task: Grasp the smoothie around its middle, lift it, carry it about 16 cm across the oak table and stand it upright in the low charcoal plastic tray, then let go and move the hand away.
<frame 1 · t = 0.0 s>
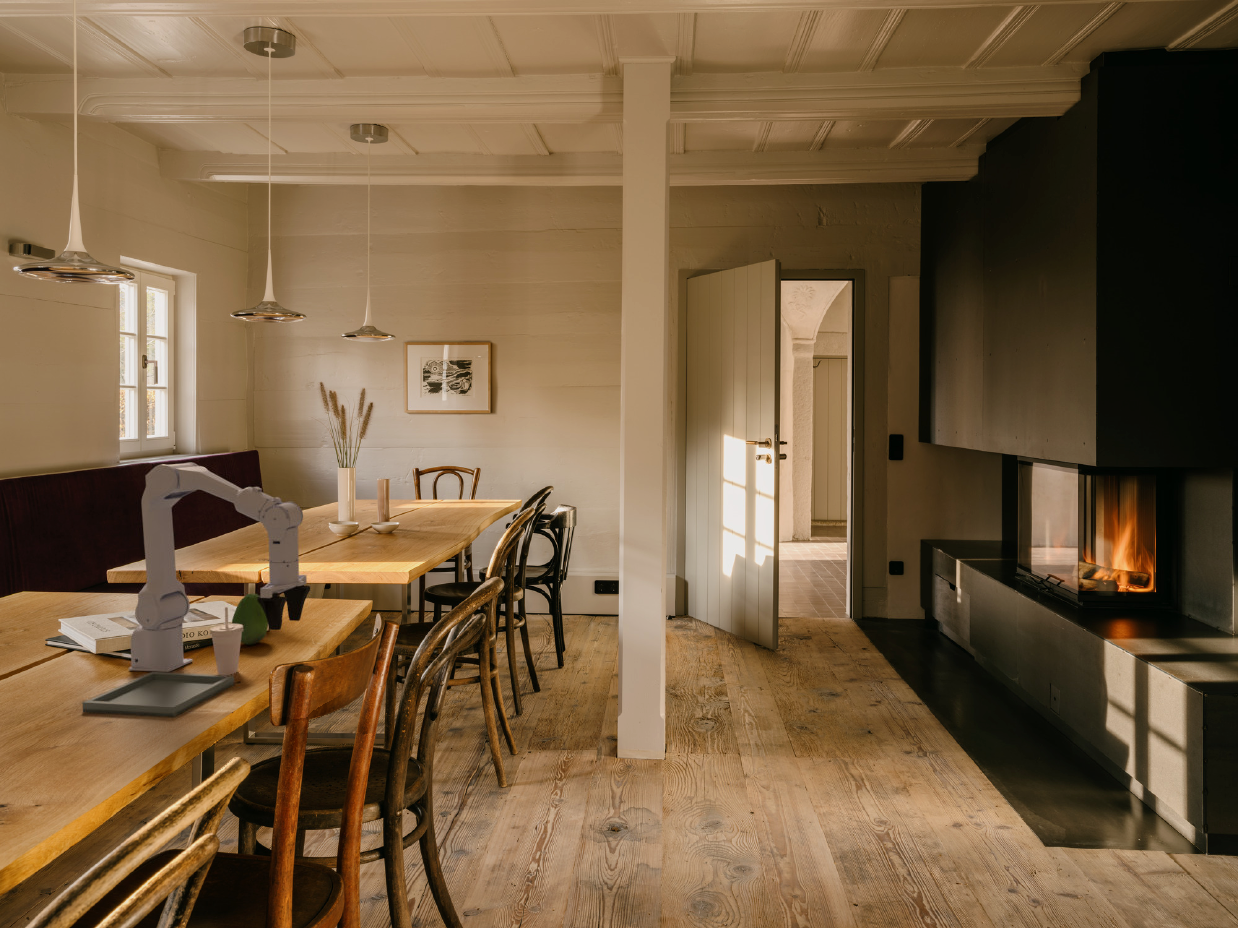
hand: (285, 624, 170), 10 cm above the table, tool pointing down, fingers open, 7 cm apart
smoothie: (227, 673, 170), on the table
tray: (162, 697, 155), on the table
avocado: (250, 644, 192), on the table
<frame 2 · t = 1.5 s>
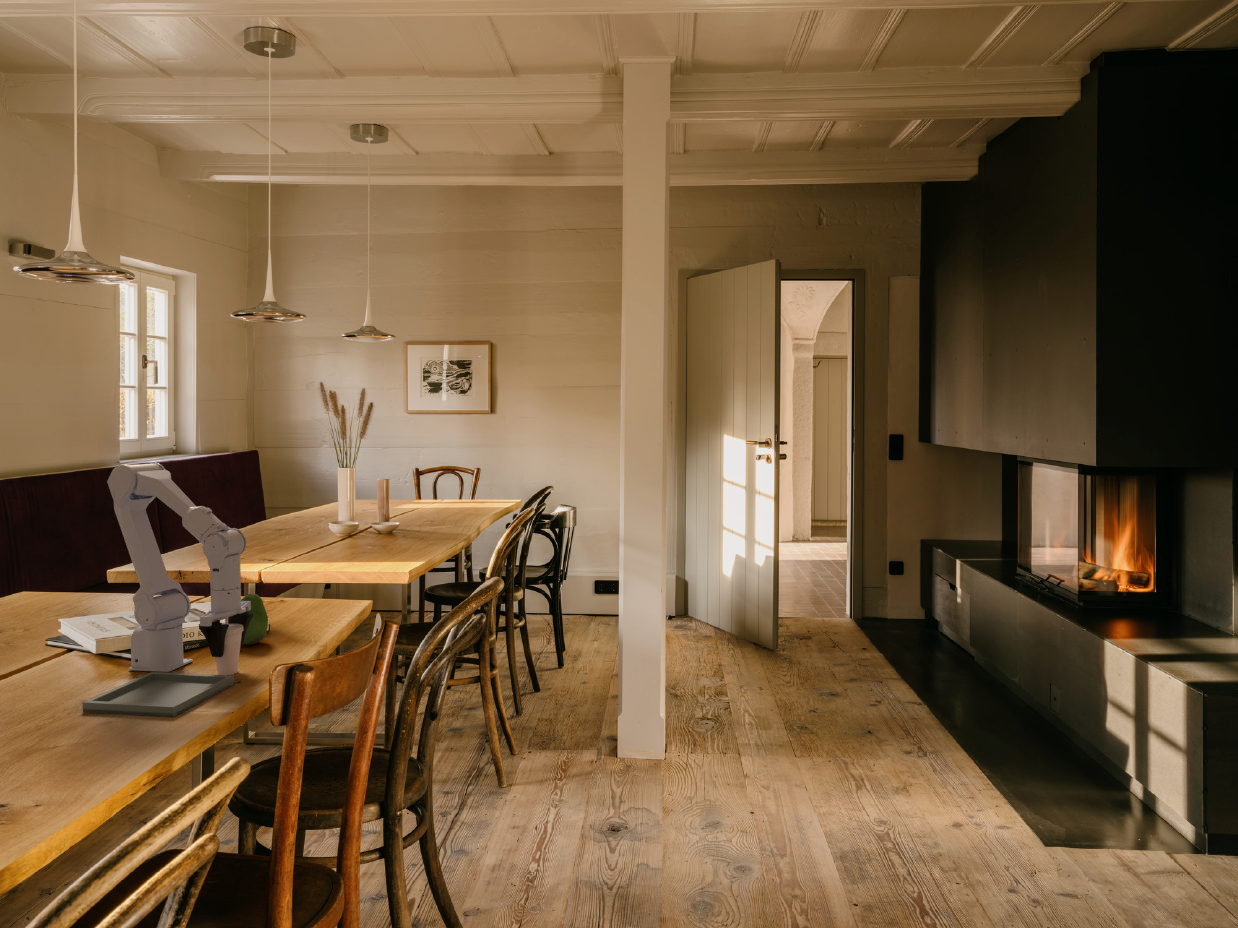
hand: (227, 651, 170), 4 cm above the table, tool pointing down, fingers closed on smoothie, 6 cm apart
smoothie: (227, 673, 170), on the table, touching gripper
everything else where it was.
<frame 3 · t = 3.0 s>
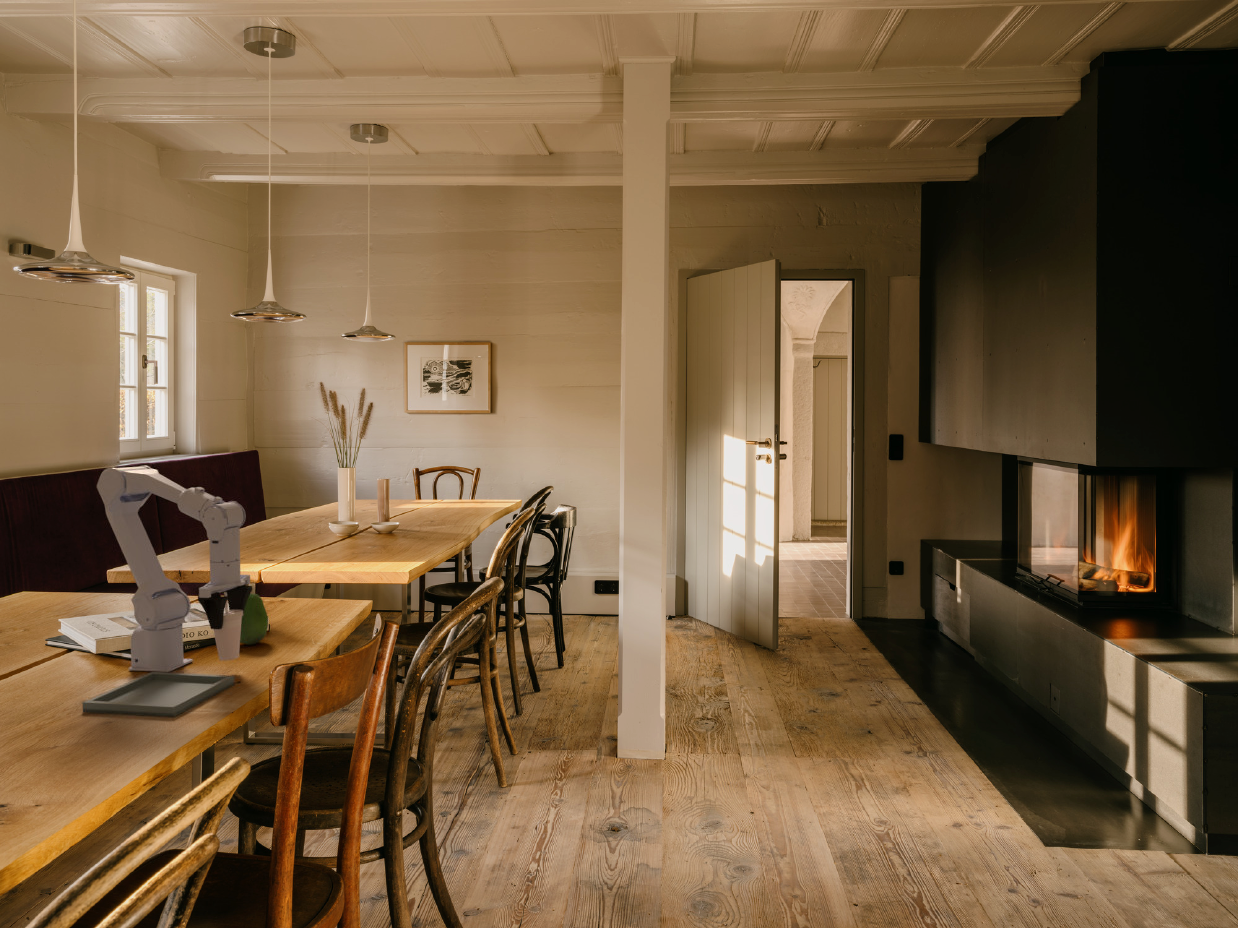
hand: (226, 624, 170), 10 cm above the table, tool pointing down, fingers closed on smoothie, 6 cm apart
smoothie: (229, 659, 170), point 3 cm above the table, touching gripper
everything else where it was.
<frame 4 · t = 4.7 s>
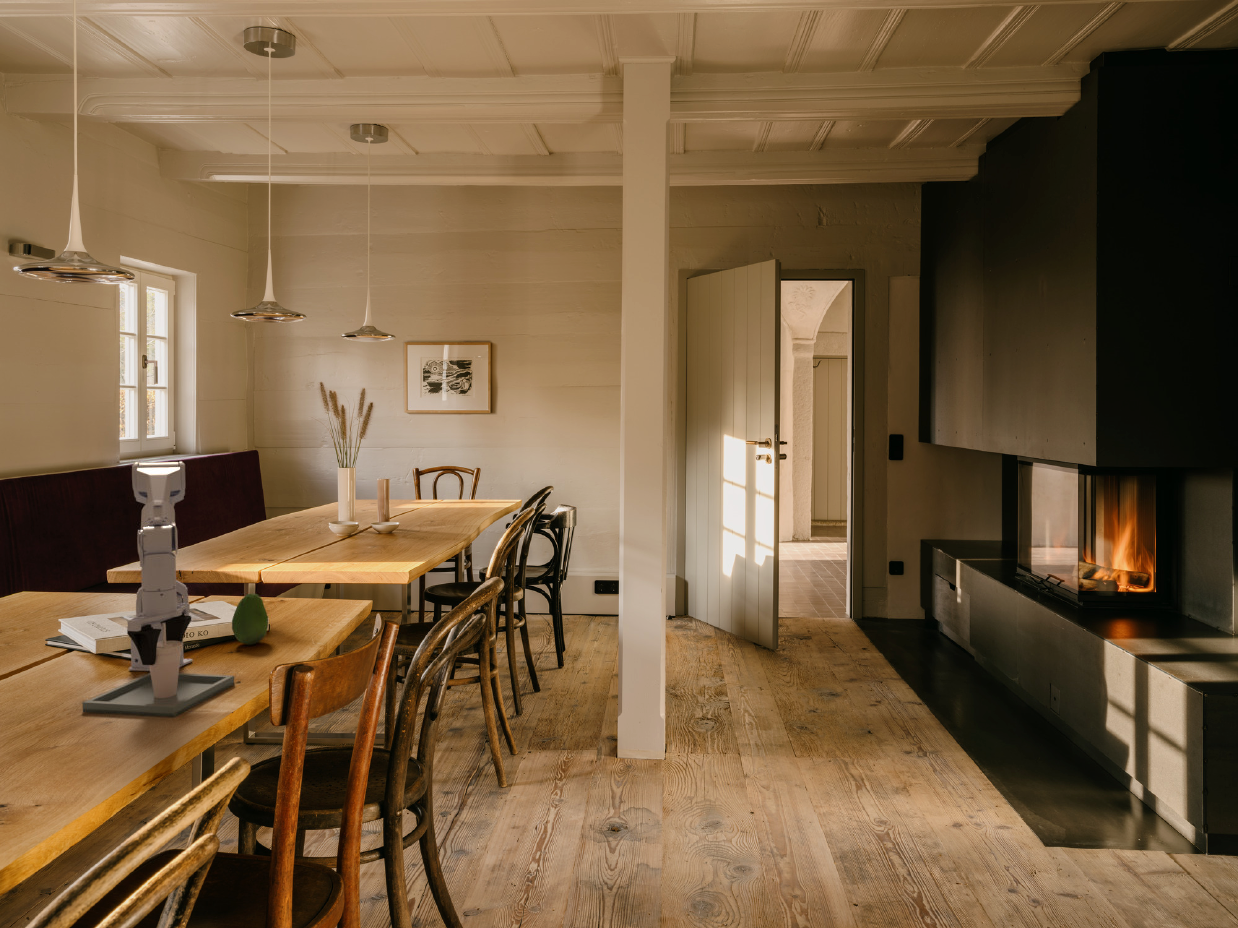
hand: (161, 659, 154), 7 cm above the table, tool pointing down, fingers closed on smoothie, 6 cm apart
smoothie: (165, 695, 155), resting on tray, touching gripper
everything else where it was.
when the fingers open (6 cm above the table, at t = 5.6 s): smoothie stays where it is, resting on tray.
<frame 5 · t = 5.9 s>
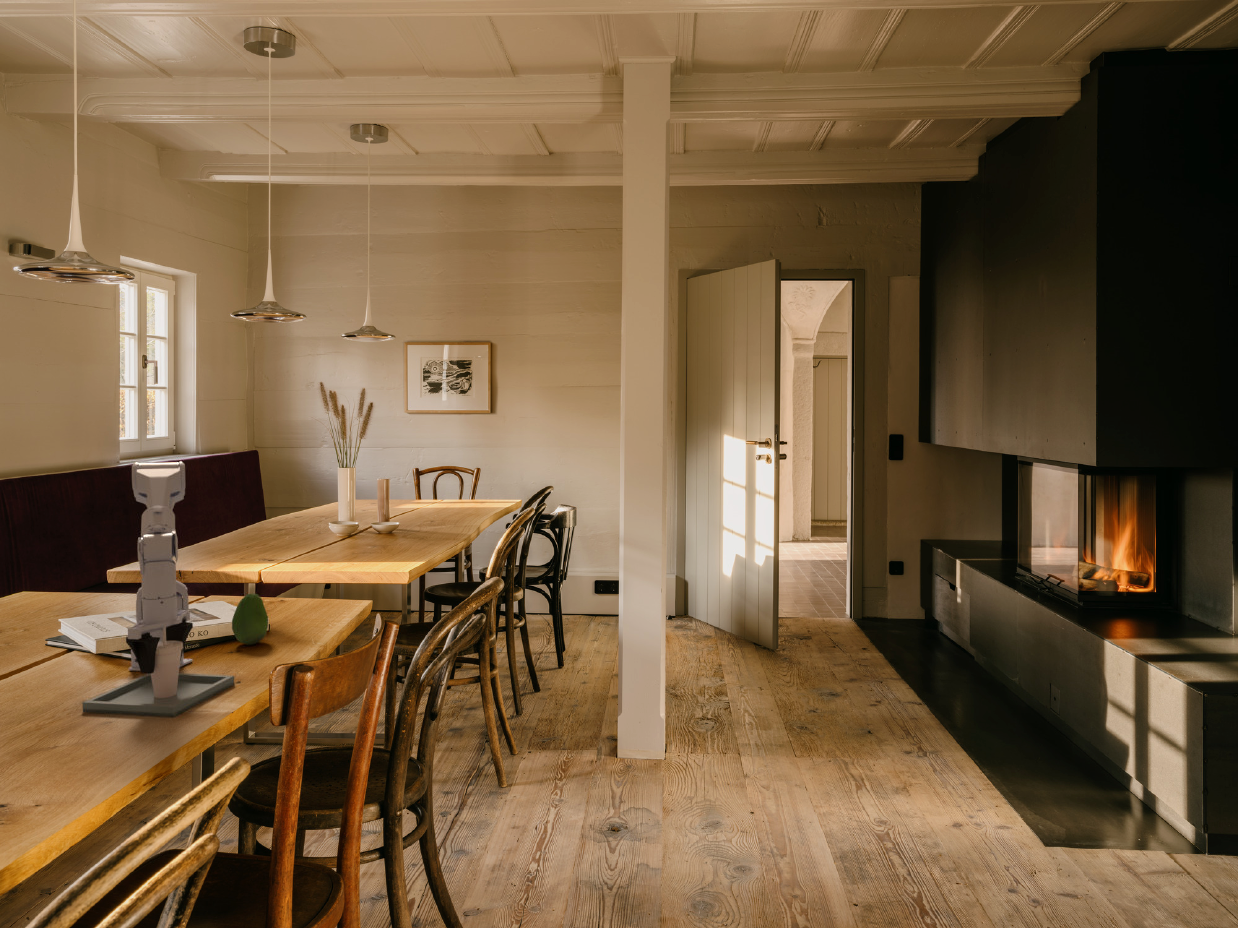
hand: (161, 666, 155), 6 cm above the table, tool pointing down, fingers open, 7 cm apart
smoothie: (165, 695, 155), resting on tray
everything else where it was.
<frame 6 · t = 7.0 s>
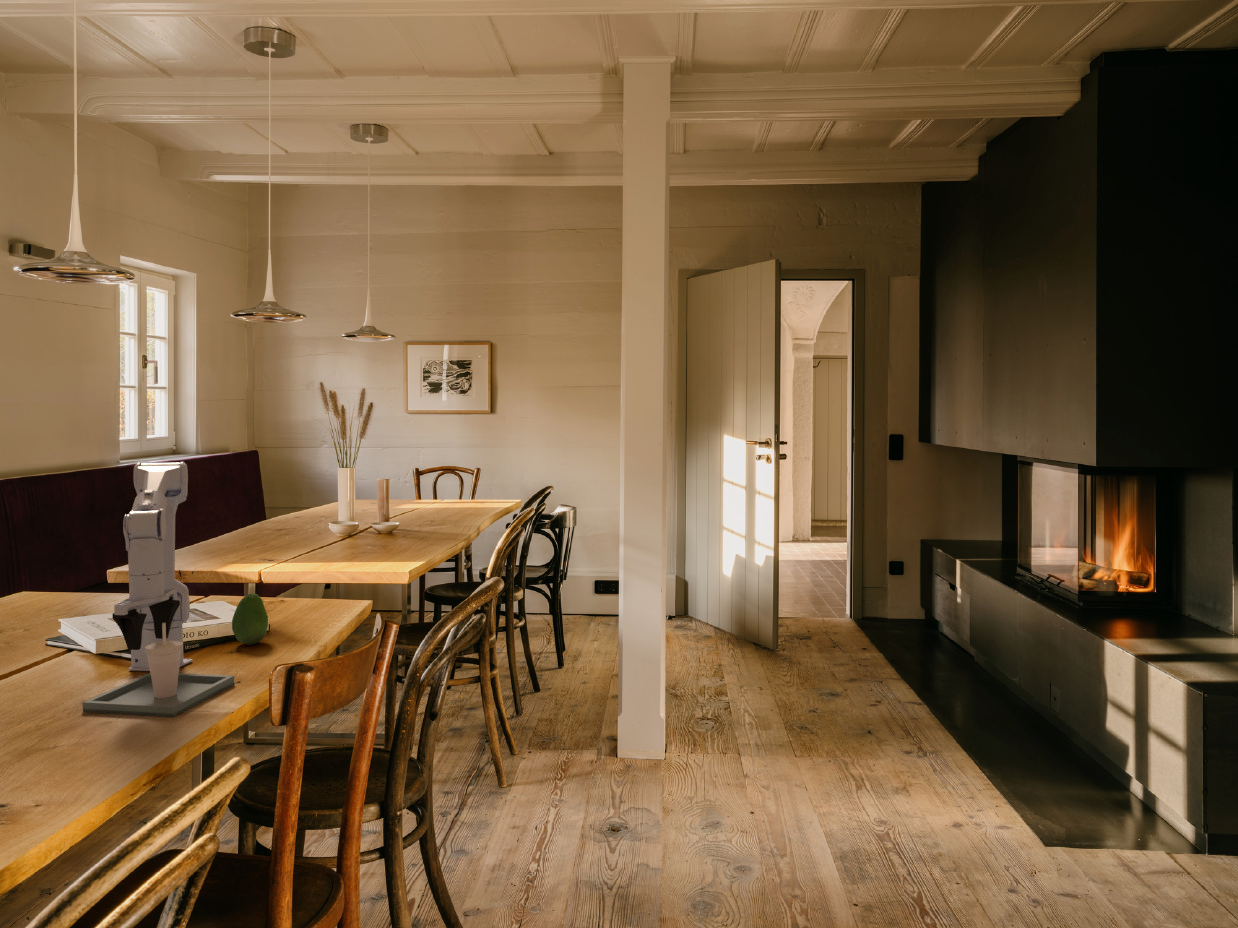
hand: (148, 643, 155), 10 cm above the table, tool pointing down, fingers open, 7 cm apart
nothing on the table moved.
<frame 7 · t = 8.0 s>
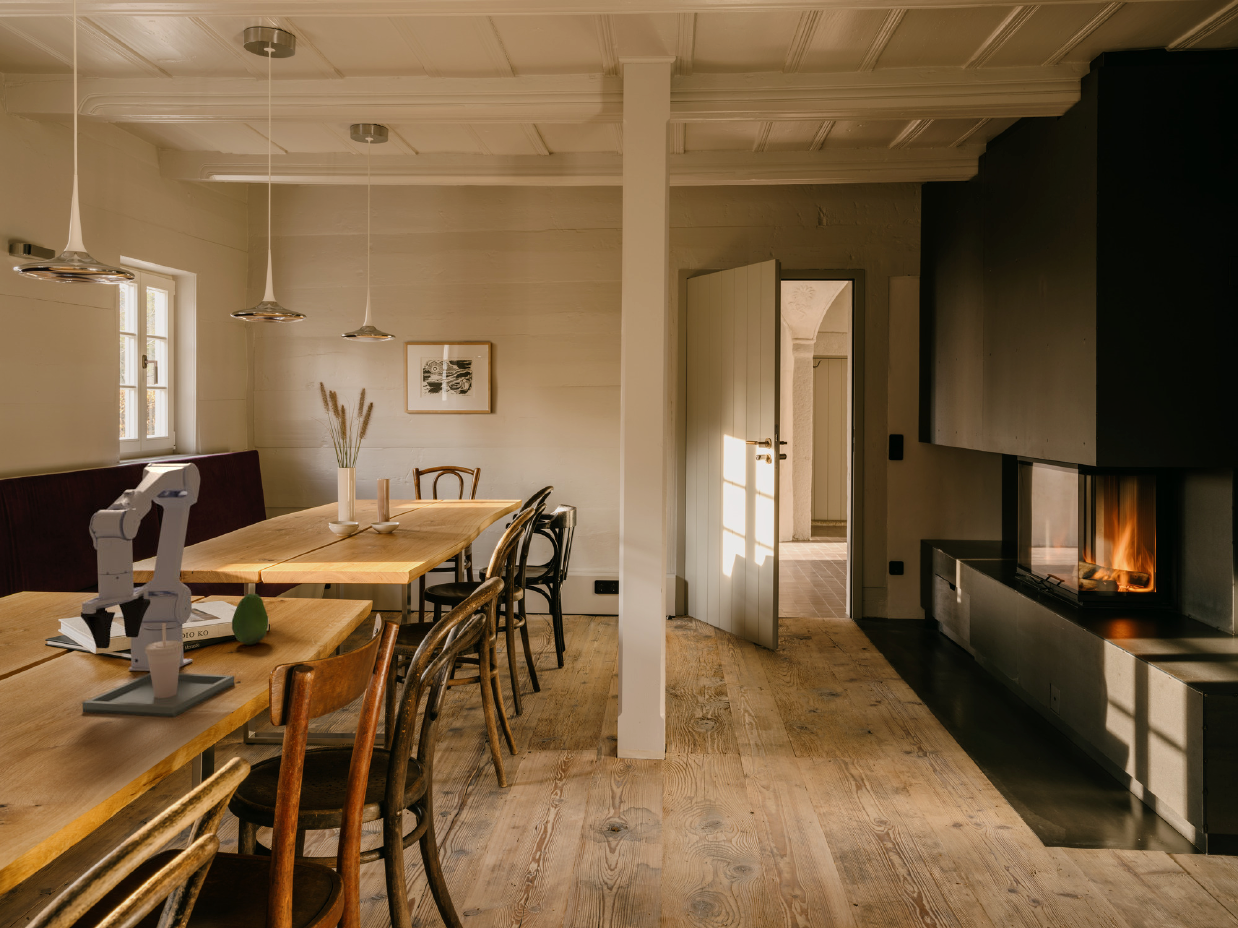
hand: (117, 642, 155), 10 cm above the table, tool pointing down, fingers open, 7 cm apart
nothing on the table moved.
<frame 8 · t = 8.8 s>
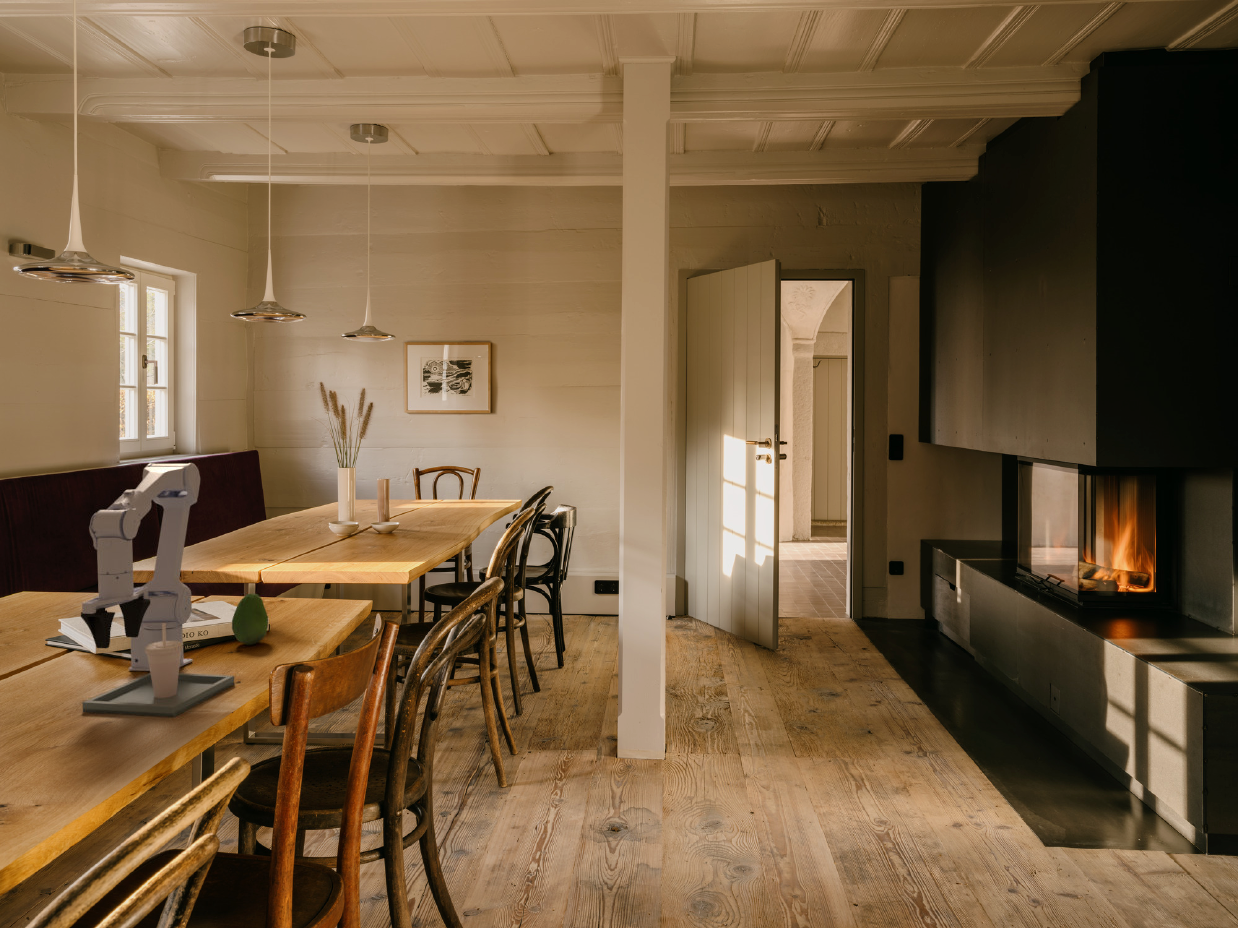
hand: (117, 642, 155), 10 cm above the table, tool pointing down, fingers open, 7 cm apart
nothing on the table moved.
at the end: smoothie inside the target area on the tray (0.7 cm from its centre), point 0.4 cm above the tray's base; smoothie tilted 0°; the gripper is holding nothing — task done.
